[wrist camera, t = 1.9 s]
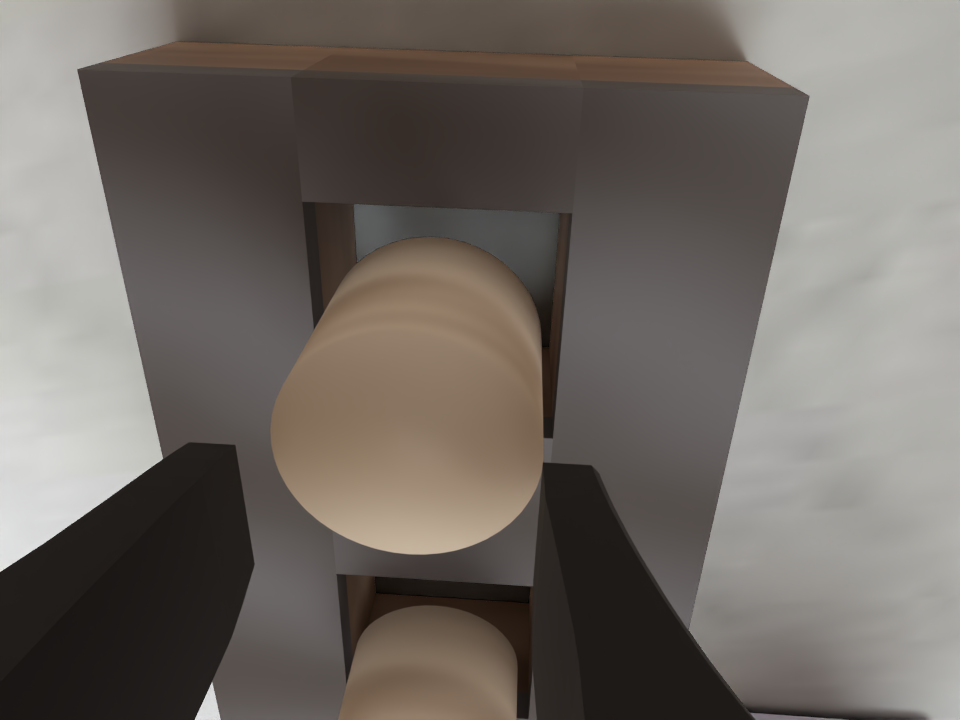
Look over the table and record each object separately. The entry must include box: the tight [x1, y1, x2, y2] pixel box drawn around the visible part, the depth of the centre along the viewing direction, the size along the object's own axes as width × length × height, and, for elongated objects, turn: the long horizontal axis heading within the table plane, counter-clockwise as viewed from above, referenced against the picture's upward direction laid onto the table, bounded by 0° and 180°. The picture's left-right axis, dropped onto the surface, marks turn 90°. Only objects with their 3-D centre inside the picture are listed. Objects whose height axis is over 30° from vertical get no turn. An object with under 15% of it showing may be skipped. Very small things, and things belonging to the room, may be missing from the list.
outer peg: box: [270, 237, 544, 555], centre depth 13 cm, size 4×4×4 cm
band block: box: [77, 42, 809, 720], centre depth 18 cm, size 18×12×4 cm, turn 179°
